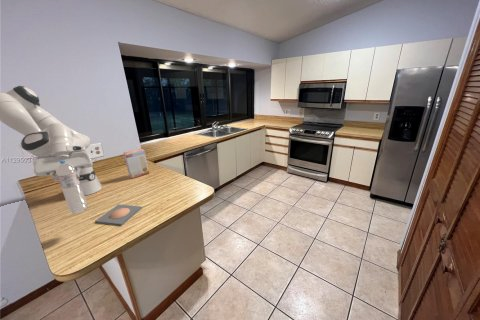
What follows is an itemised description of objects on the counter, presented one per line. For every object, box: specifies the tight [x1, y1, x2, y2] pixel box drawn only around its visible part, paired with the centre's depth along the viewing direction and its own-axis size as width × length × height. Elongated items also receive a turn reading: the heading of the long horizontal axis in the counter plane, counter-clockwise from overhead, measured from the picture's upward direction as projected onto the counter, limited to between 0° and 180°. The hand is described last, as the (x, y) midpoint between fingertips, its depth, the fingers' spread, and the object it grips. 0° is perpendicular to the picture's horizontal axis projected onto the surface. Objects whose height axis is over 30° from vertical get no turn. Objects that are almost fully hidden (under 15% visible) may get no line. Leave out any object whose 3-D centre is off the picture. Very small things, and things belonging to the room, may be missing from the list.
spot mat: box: [94, 204, 143, 226], centre depth 109 cm, size 16×16×1 cm
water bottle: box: [56, 160, 89, 215], centre depth 90 cm, size 7×7×25 cm
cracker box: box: [123, 148, 150, 180], centre depth 158 cm, size 14×6×21 cm, turn 135°
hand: (67, 179), depth 88 cm, fingers closed on water bottle, 6 cm apart
